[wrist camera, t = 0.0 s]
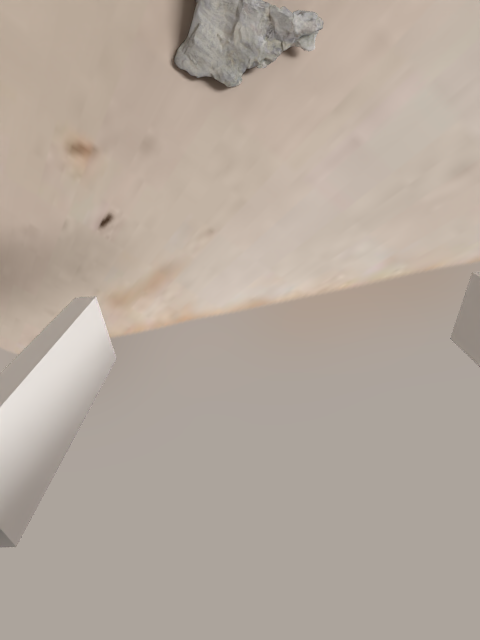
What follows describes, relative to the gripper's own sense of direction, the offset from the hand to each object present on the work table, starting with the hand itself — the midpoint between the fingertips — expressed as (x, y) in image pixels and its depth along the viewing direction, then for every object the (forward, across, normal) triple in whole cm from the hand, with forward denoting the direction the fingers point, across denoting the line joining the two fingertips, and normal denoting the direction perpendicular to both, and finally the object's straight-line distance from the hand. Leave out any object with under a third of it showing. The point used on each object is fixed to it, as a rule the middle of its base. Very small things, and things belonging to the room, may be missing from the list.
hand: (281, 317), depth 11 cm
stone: (+28, 0, +13) cm, 31 cm away
